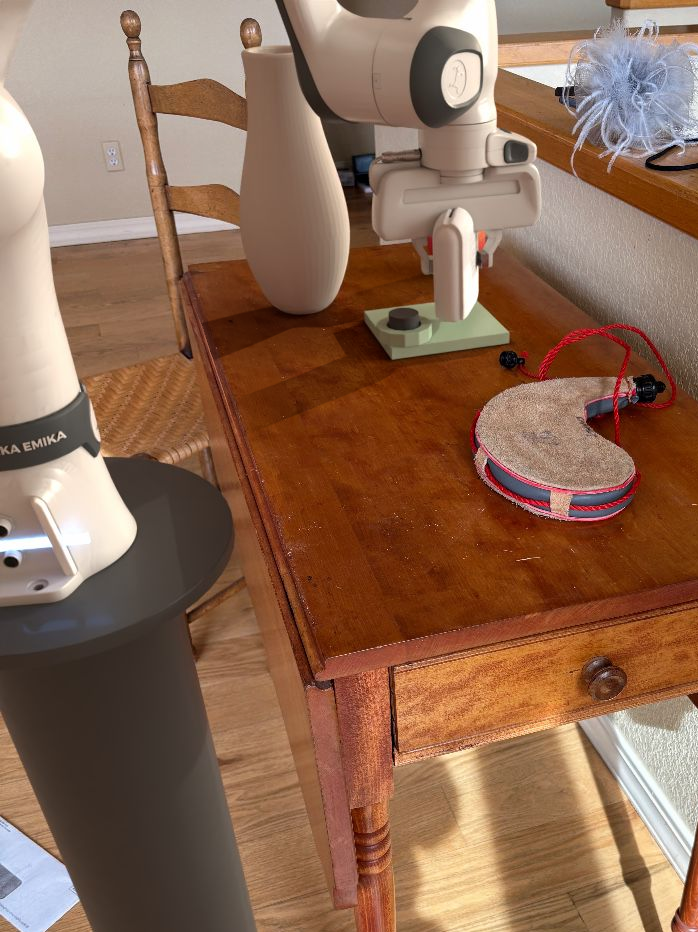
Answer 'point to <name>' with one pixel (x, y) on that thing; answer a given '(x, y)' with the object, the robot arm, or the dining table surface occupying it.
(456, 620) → the dining table surface
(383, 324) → the scale
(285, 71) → the vase
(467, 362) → the dining table surface
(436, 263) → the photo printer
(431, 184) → the robot arm
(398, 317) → the button
